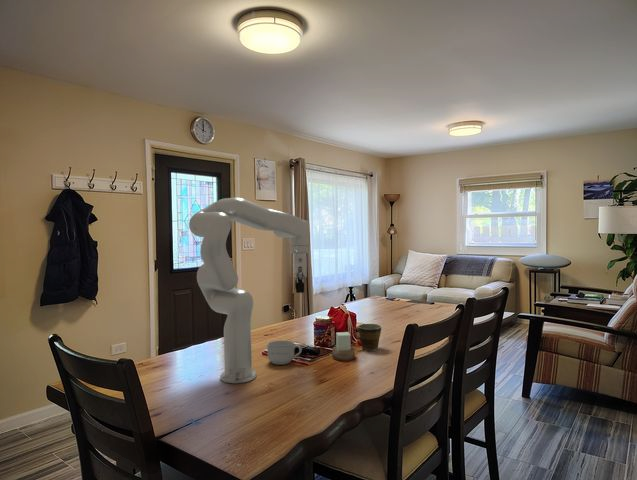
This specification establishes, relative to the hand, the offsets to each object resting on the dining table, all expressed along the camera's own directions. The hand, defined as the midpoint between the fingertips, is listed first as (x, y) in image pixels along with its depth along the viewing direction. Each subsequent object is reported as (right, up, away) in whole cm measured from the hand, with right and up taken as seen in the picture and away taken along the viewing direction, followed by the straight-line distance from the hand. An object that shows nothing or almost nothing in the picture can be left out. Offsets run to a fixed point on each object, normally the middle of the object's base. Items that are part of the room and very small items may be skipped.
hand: (299, 290), depth 175 cm
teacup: (-5, -27, -10) cm, 29 cm away
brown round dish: (+18, -27, -4) cm, 32 cm away
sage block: (+18, -23, -4) cm, 29 cm away
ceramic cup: (+29, -26, +7) cm, 39 cm away
